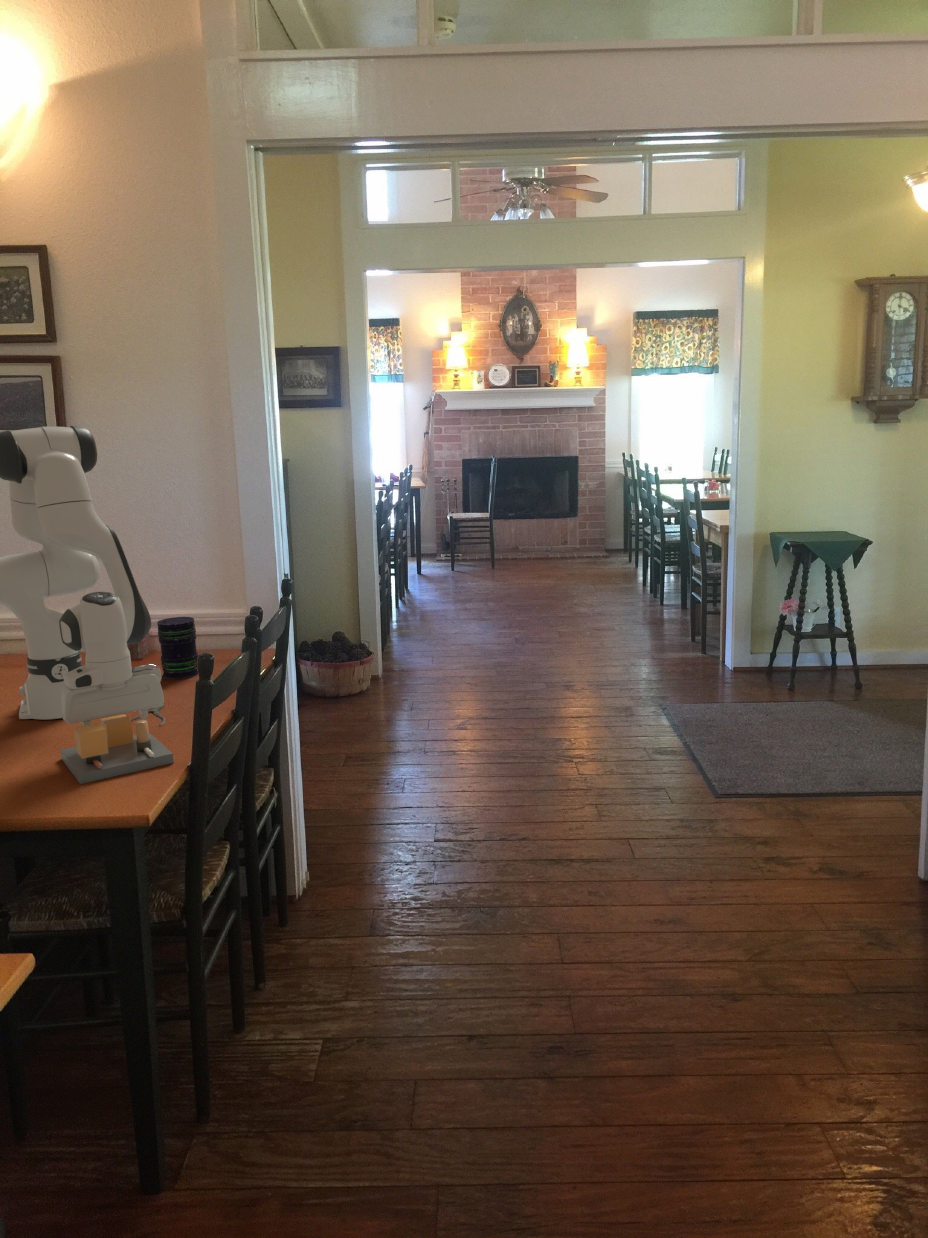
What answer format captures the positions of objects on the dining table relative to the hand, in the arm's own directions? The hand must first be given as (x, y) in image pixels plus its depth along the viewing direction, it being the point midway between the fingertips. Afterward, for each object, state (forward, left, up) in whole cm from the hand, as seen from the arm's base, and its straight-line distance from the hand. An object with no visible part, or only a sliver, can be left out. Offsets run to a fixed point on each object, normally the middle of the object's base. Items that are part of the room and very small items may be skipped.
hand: (117, 734), depth 206 cm
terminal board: (+6, -2, -4) cm, 7 cm away
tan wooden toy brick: (0, 0, -2) cm, 2 cm away
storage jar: (-55, +30, -4) cm, 63 cm away
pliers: (-22, +11, -4) cm, 25 cm away
